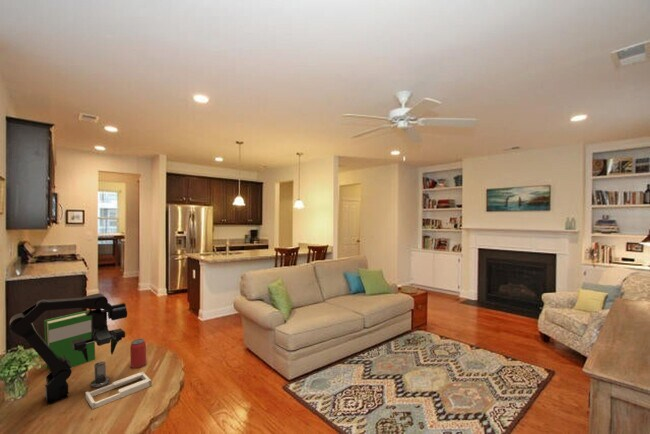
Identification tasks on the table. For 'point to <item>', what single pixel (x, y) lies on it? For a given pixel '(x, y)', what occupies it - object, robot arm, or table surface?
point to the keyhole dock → (122, 392)
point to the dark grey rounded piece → (100, 376)
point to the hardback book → (69, 337)
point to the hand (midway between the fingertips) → (99, 357)
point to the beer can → (138, 353)
